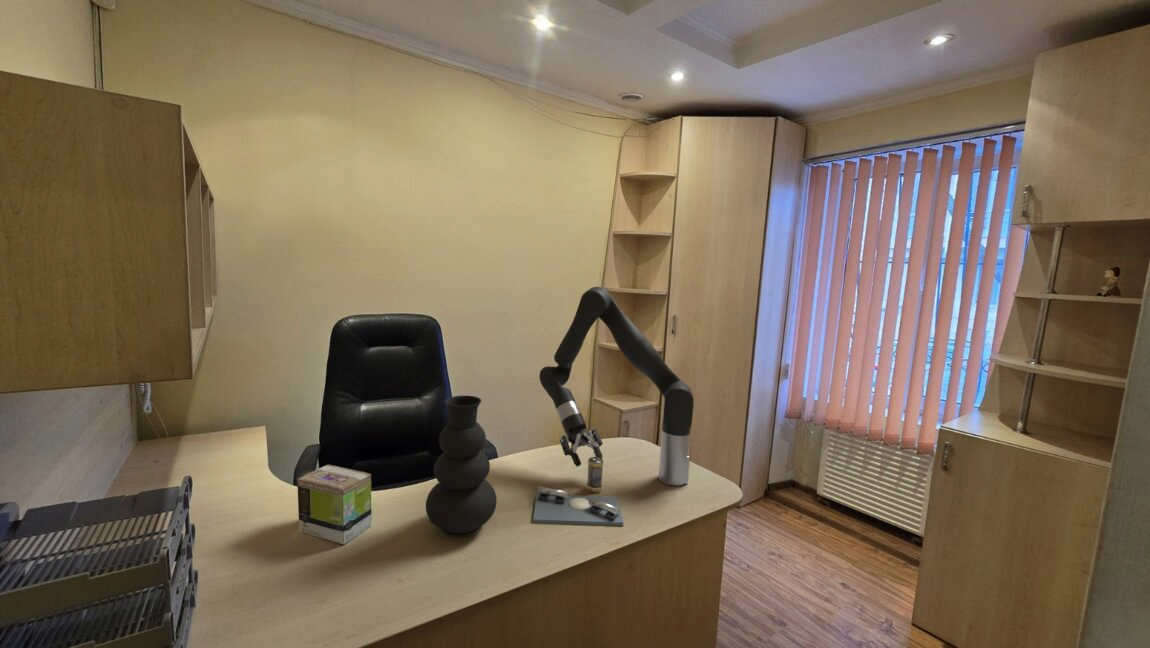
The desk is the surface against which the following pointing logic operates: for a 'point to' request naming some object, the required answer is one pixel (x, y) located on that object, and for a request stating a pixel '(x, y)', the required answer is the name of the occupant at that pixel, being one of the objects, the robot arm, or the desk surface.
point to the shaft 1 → (552, 494)
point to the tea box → (334, 503)
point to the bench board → (574, 511)
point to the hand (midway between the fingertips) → (589, 462)
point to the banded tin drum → (595, 475)
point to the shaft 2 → (599, 506)
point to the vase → (461, 473)
